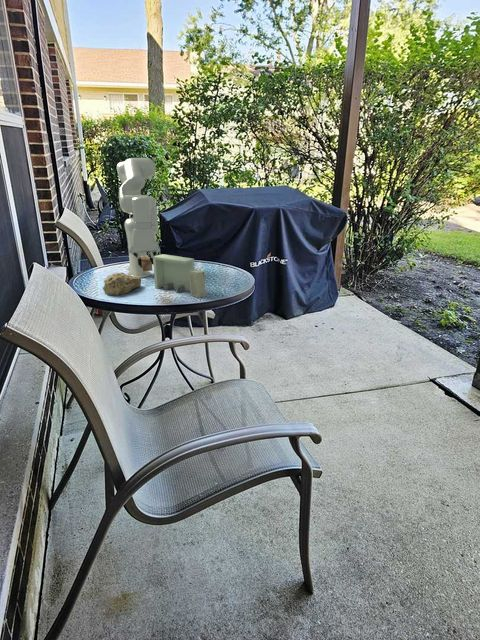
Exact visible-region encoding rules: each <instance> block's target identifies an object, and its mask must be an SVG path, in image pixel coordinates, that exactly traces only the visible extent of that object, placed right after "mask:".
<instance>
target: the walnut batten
mask: <svg viewBox="0 0 480 640" xmlns="http://www.w3.org/2000/svg"><path fill="white" fill-rule="evenodd" d="M140 257H141V263H142V269H143V271H149V272H154V269H153V265H152V262H151V260H150V259H149V257H150V255H147V256H140Z"/></svg>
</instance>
